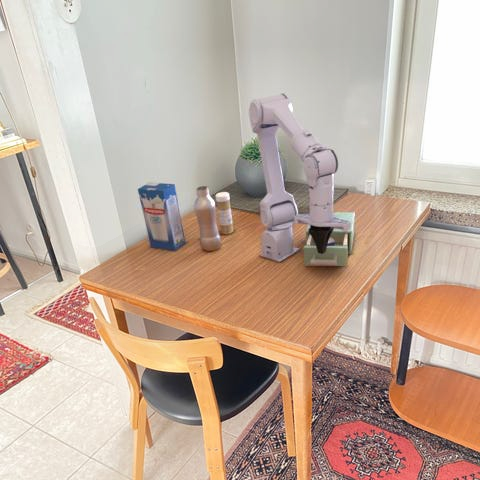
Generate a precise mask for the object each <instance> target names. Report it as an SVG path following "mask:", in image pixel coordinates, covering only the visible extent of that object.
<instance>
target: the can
mask: <svg viewBox="0 0 480 480" xmlns="http://www.w3.org/2000/svg"><path fill="white" fill-rule="evenodd" d="M327 246H334V239H333V238H329V241H328V244H327Z"/></svg>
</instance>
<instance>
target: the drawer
mask: <svg viewBox="0 0 480 480" xmlns="http://www.w3.org/2000/svg"><path fill="white" fill-rule="evenodd" d="M330 238H333V239H334V246H327V248H326V252H324V253H323V254H319V253H318V251H317V248H316V245H315V242H314V240H313V238H312V236H311V235H310V234H309V238H308V241H307V244H306V243H305V245H304V246H303V265H304V266H315V267H316V266H322V267H348V255H349V254H348V241H349V233H331V236H330Z"/></svg>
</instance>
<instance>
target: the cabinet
mask: <svg viewBox="0 0 480 480" xmlns="http://www.w3.org/2000/svg"><path fill="white" fill-rule="evenodd" d="M333 216H334V217H337V218H340V219H343V220H346V221H350V229H349V230H348V231H347V232H346V231H343V230H341V229H335V228H334V230H333V231H332V233H349V241H348V255H351V254H352V251H353V245H354V238H355V237H354V236H355V212H354V211H353V212H351V211H349V212H348V211H347V212H346V211H345V212H343V211H342V212H341V211H340V212H338V211H337V212H336V211H335V212H334V211H333ZM310 227H311V225H309V224H307V226H306V230H305V245H306V244H307V241H308V238H309V234H310V233H309V231H308V230H309V228H310Z"/></svg>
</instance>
